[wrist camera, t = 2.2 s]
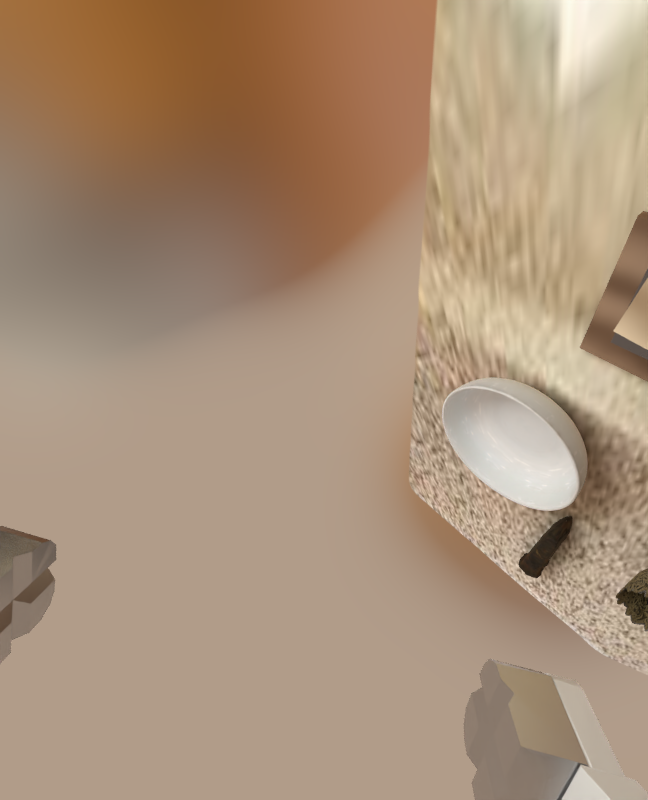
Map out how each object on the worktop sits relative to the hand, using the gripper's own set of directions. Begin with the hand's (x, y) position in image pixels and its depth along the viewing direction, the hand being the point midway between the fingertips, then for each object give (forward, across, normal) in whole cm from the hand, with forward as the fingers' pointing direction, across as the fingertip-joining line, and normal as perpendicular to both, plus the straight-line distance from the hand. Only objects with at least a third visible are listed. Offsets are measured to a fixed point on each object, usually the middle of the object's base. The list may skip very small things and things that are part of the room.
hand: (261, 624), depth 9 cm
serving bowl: (+58, +27, -10) cm, 65 cm away
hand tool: (+66, +40, -30) cm, 82 cm away
